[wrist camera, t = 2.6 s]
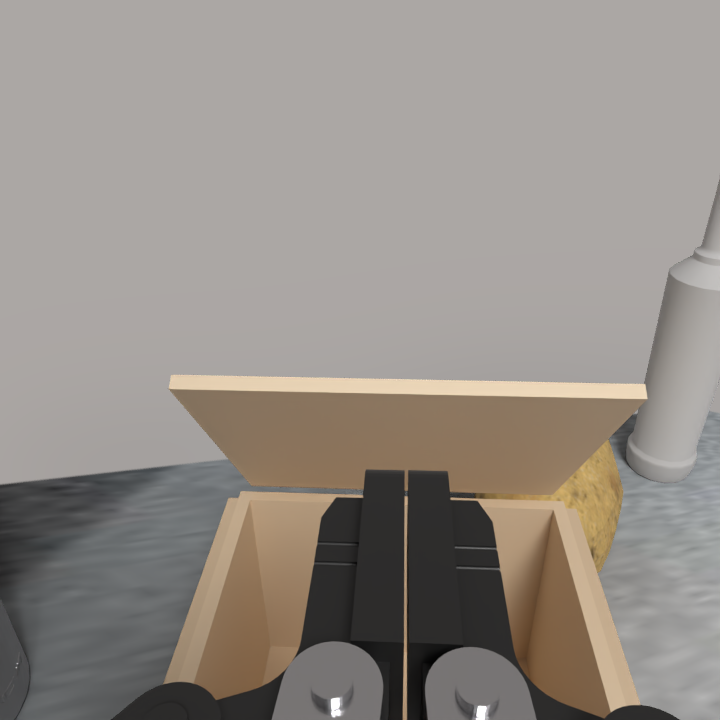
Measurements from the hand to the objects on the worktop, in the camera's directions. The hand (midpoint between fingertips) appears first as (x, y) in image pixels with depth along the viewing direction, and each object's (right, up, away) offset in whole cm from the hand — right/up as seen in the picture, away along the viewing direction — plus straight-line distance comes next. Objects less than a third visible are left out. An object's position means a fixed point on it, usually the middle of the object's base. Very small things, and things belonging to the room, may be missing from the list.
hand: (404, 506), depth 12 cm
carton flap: (+1, -1, +14) cm, 14 cm away
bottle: (+24, -6, +40) cm, 47 cm away
